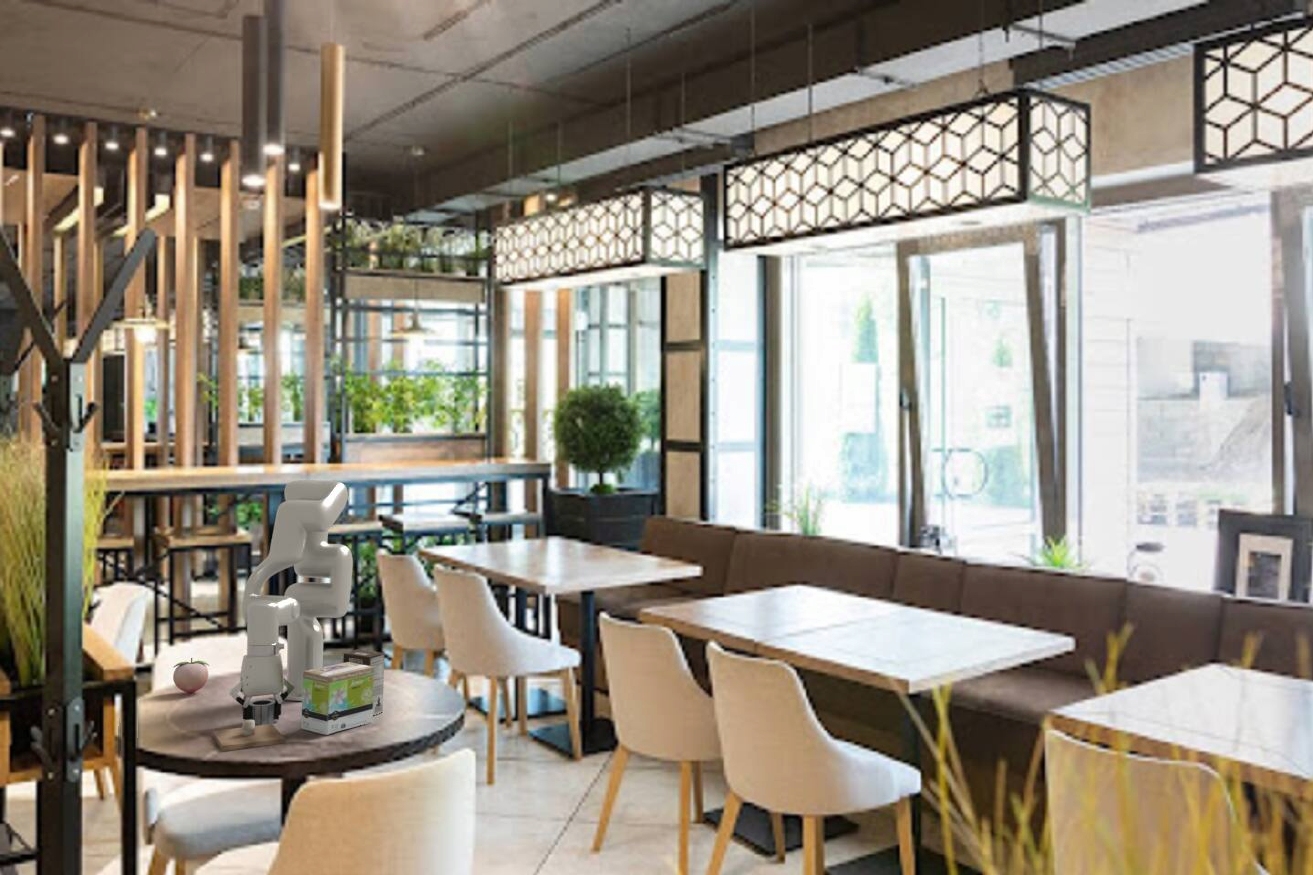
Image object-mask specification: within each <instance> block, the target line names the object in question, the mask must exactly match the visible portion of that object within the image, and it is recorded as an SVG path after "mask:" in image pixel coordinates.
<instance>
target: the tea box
mask: <svg viewBox="0 0 1313 875" xmlns="http://www.w3.org/2000/svg"><path fill="white" fill-rule="evenodd" d="M373 684H374V667H371V666H367V665H362V664H357V663H352V662H346V663H343V662H341V663H336V664H332V665H328V666H323V667H322V668H317V669H312V670H307V671H304V673H303V694H302V701H301V719H300V720H301V723H300V724H301V726H300V728H301V729H303V730H306V731H309V732H312V733H317V734H320V735H325V736H328V735H331V734H334V733H338V732H341V731H344V730H348V729H352V728H355V727H360V725H361V726H364V724H365V725H369V724H372V723H373V717H374V716H373Z"/></svg>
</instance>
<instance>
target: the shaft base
mask: <svg viewBox="0 0 1313 875" xmlns="http://www.w3.org/2000/svg"><path fill="white" fill-rule="evenodd" d="M241 723H242V726H241V727H235V728H226V729H216V730H212V733H211V734H212V735H211V737H212V738H213V740H214V741H215V742H216V743H217V745H218V747H219V748H220V749H221V751H222V752H227V751H235V750H242V749H249V748H257V747H266V746H274V745H281V744H285V743H286V738H285V736H284V735H283V734H282V733H281V732H280V731H279V729H278V728H277V727H276V726H275V725H274V723H273V724H266V725H258V726H255V721H254V720H245V719H244V720H242V721H241Z"/></svg>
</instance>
